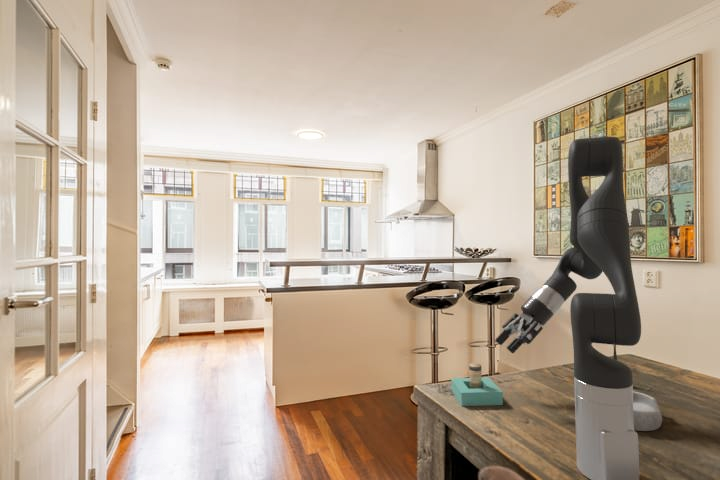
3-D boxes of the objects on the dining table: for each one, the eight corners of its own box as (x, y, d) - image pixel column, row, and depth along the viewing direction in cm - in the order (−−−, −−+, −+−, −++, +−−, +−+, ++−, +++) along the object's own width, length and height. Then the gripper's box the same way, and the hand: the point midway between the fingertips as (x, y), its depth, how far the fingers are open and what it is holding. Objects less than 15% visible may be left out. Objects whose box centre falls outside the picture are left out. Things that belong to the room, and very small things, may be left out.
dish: (648, 410, 96) (648, 390, 96) (678, 437, 83) (677, 414, 83) (584, 405, 100) (584, 386, 100) (603, 430, 87) (602, 408, 87)
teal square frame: (502, 404, 101) (502, 391, 101) (461, 406, 101) (461, 392, 101) (488, 389, 112) (488, 377, 112) (451, 390, 112) (451, 378, 112)
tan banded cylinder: (484, 399, 105) (482, 366, 105) (472, 399, 105) (471, 367, 105) (480, 394, 108) (479, 363, 108) (468, 395, 108) (467, 363, 108)
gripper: (521, 292, 114) (485, 331, 114) (545, 299, 100) (503, 343, 99) (540, 309, 114) (503, 349, 114) (566, 318, 100) (524, 363, 99)
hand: (503, 346), depth 106 cm, fingers open, 8 cm apart
